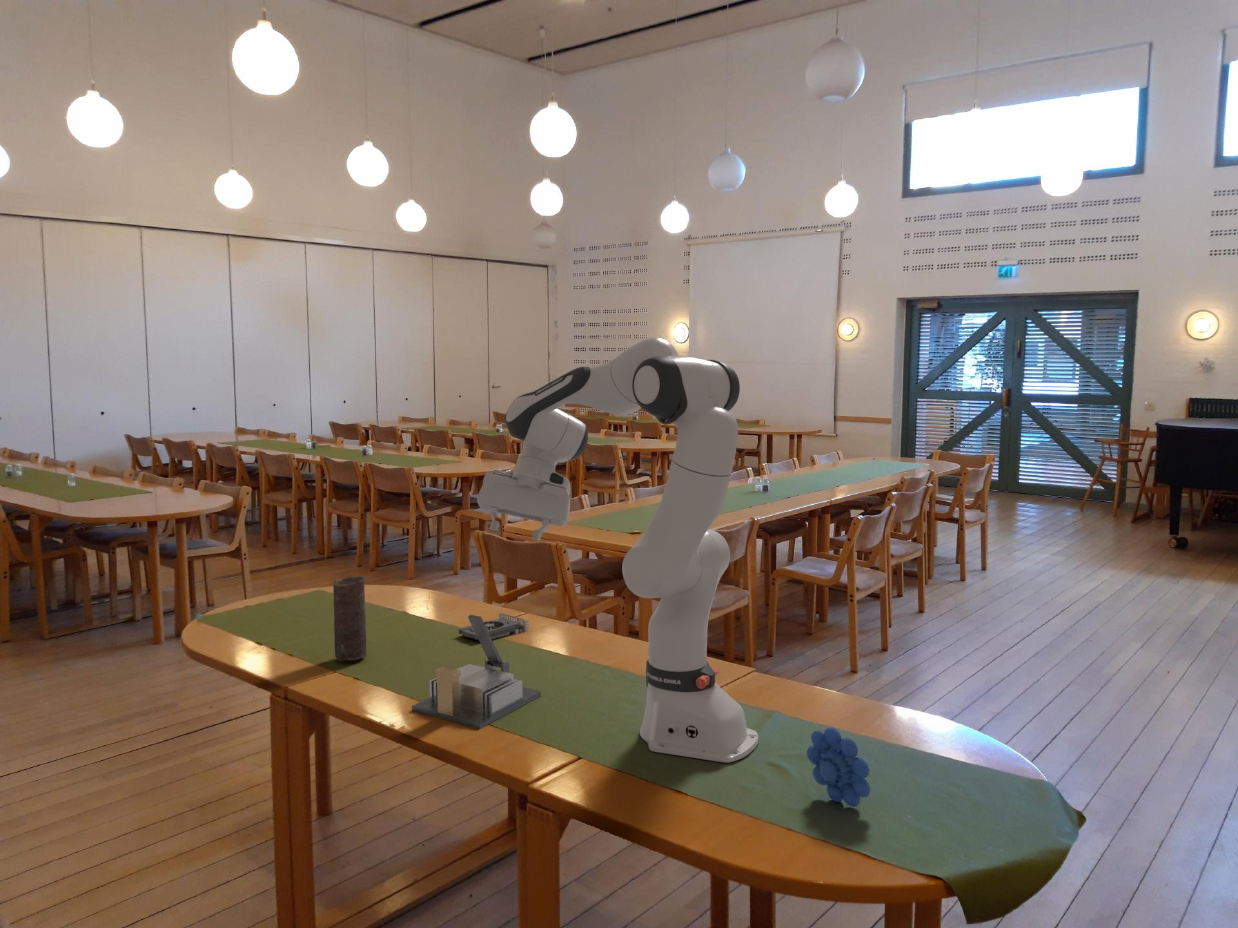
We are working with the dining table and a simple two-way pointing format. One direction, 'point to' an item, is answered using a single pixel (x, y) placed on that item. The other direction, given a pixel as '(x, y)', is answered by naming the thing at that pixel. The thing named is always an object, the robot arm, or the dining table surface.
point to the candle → (349, 618)
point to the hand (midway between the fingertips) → (514, 534)
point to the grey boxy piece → (474, 694)
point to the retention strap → (485, 640)
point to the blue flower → (838, 766)
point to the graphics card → (499, 627)
